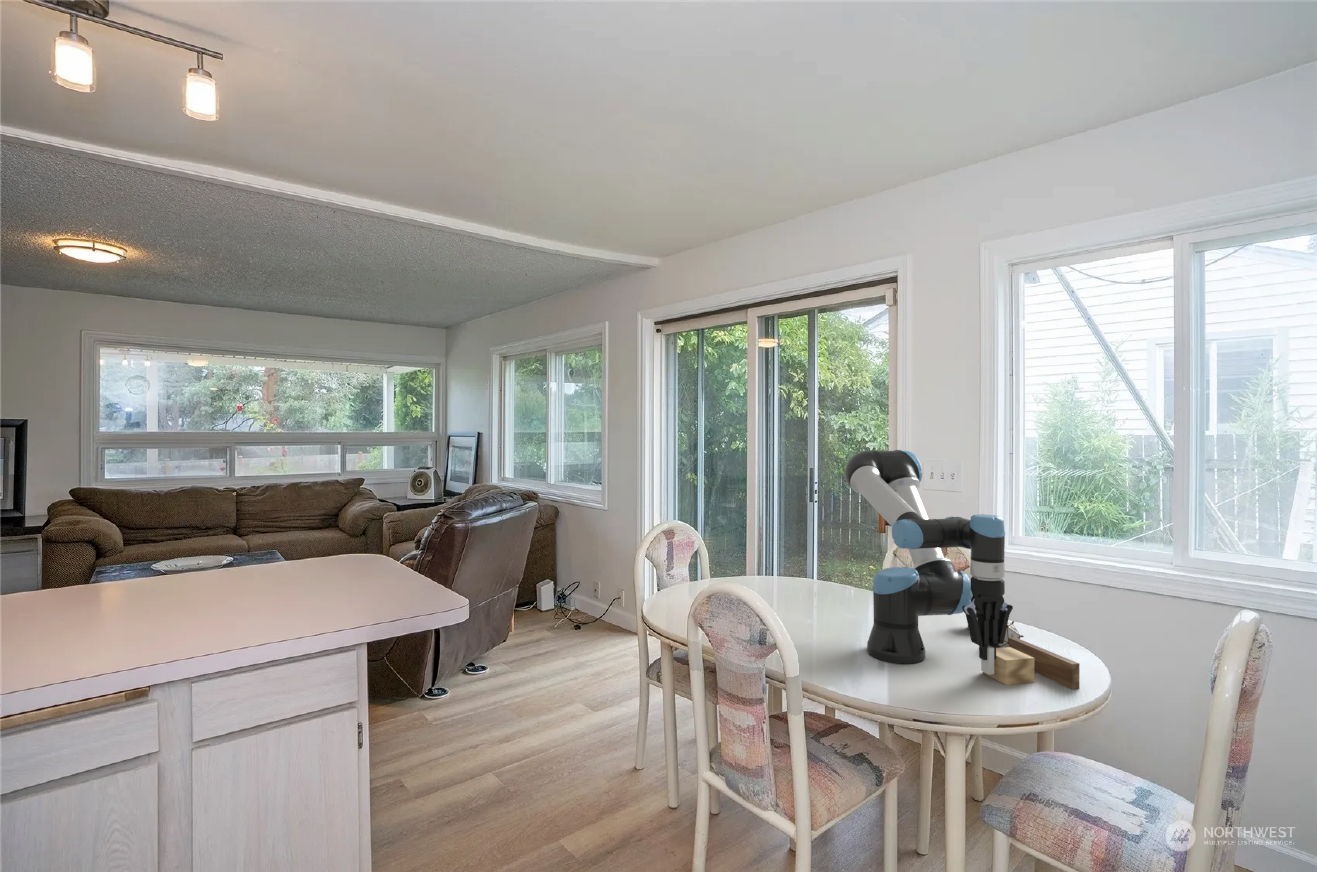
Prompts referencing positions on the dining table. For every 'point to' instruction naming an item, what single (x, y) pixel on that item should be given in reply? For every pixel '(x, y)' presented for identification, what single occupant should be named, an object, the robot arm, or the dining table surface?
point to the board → (1049, 663)
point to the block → (1012, 667)
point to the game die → (1010, 635)
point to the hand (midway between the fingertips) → (987, 672)
